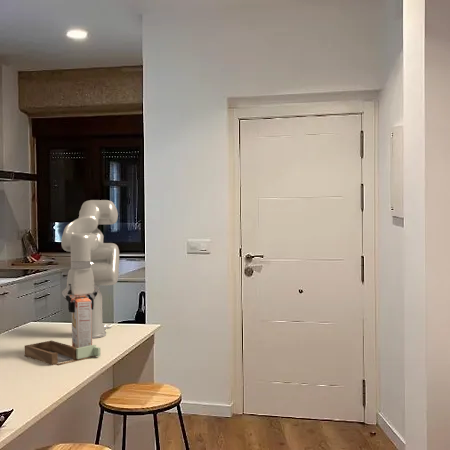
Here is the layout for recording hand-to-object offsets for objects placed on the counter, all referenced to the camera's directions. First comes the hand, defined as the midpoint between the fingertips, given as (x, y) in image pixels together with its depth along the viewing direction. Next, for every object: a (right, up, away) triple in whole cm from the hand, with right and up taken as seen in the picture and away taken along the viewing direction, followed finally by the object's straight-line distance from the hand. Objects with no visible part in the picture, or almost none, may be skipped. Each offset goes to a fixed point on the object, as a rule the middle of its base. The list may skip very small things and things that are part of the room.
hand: (81, 310), depth 223 cm
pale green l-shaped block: (+5, -16, -11) cm, 20 cm away
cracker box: (0, -16, 0) cm, 16 cm away
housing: (-6, -16, -7) cm, 19 cm away
